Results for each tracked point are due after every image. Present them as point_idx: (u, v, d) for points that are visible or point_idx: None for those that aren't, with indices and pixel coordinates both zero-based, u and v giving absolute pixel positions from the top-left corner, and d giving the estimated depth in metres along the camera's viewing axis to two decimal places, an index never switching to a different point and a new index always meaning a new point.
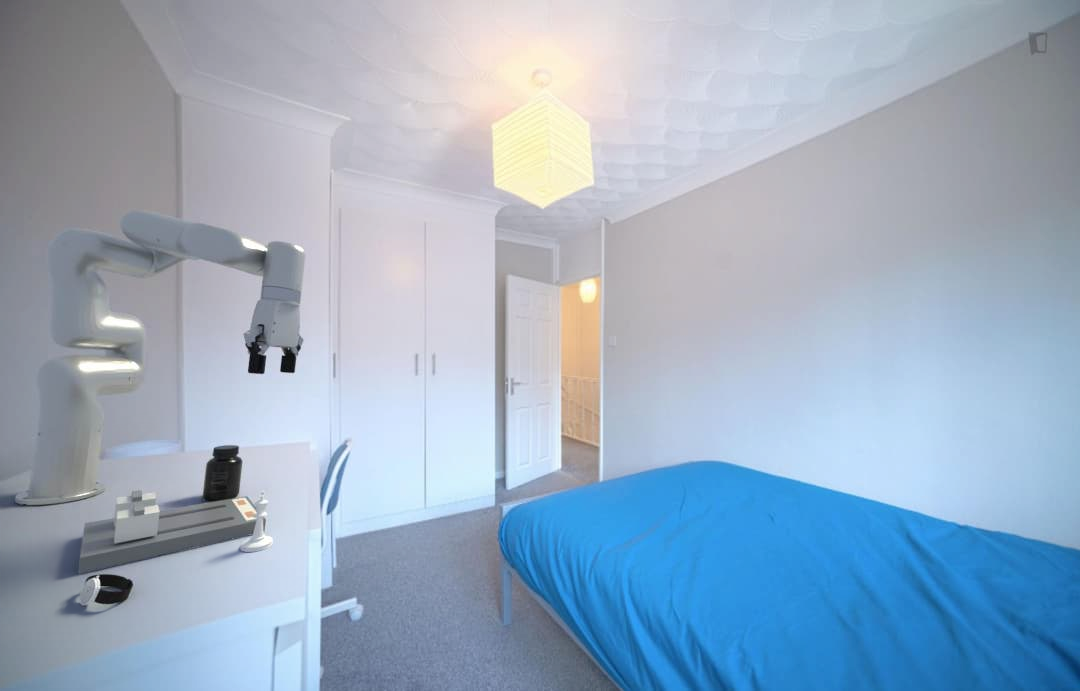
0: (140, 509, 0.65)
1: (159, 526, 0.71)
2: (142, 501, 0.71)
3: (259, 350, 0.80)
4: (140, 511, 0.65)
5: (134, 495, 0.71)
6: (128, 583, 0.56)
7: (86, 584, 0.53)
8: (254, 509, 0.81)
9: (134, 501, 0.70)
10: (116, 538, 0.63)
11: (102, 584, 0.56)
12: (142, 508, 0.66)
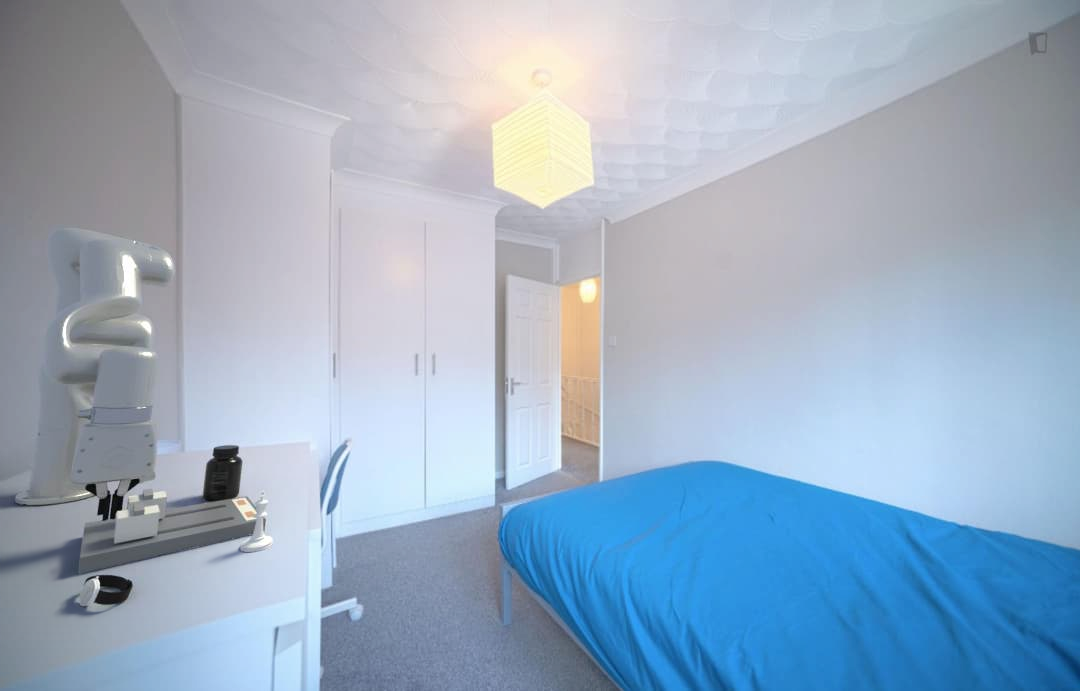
0: (140, 509, 0.65)
1: (159, 526, 0.71)
2: (153, 499, 0.72)
3: None
4: (140, 511, 0.65)
5: (145, 493, 0.72)
6: (128, 584, 0.56)
7: (86, 585, 0.53)
8: (254, 509, 0.81)
9: (146, 499, 0.71)
10: (116, 538, 0.63)
11: (102, 585, 0.56)
12: (142, 508, 0.66)
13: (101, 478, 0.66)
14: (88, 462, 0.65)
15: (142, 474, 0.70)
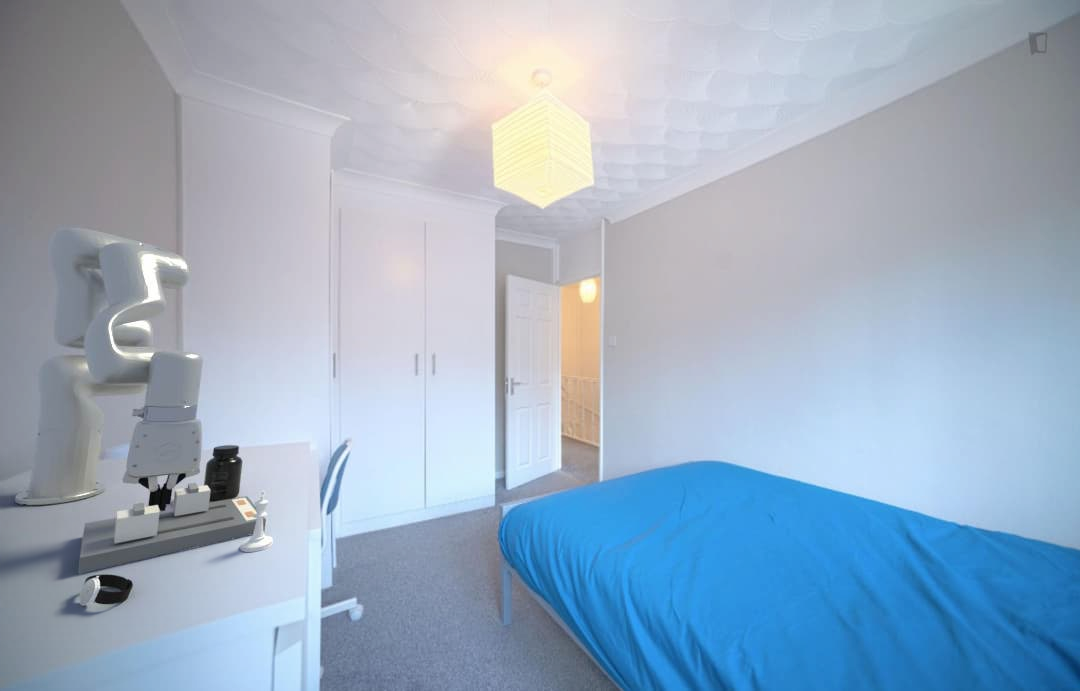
0: (140, 509, 0.65)
1: (159, 526, 0.71)
2: (198, 493, 0.77)
3: None
4: (140, 511, 0.65)
5: (191, 487, 0.77)
6: (128, 583, 0.56)
7: (86, 584, 0.53)
8: (254, 509, 0.81)
9: (192, 493, 0.76)
10: (116, 538, 0.63)
11: (102, 584, 0.56)
12: (142, 508, 0.66)
13: (153, 472, 0.71)
14: (142, 457, 0.70)
15: (189, 468, 0.75)
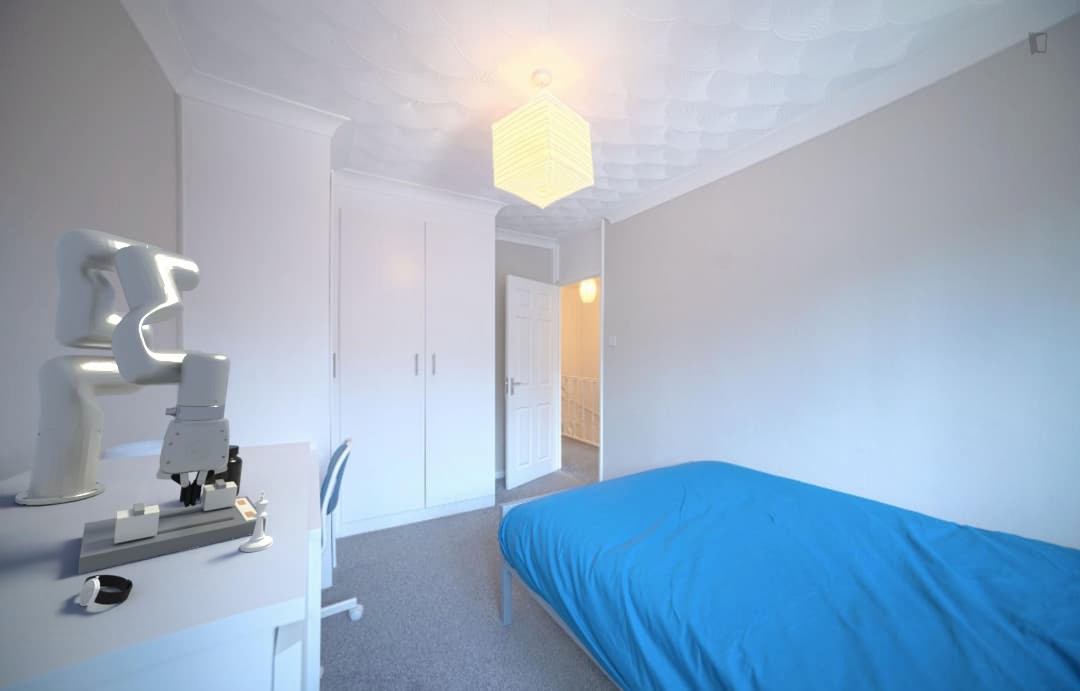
0: (140, 509, 0.65)
1: (159, 526, 0.71)
2: (226, 488, 0.80)
3: None
4: (140, 511, 0.65)
5: (219, 483, 0.80)
6: (128, 583, 0.56)
7: (85, 585, 0.53)
8: (254, 509, 0.81)
9: (220, 488, 0.79)
10: (116, 538, 0.63)
11: (102, 585, 0.56)
12: (142, 508, 0.66)
13: (185, 469, 0.74)
14: (175, 454, 0.73)
15: (218, 465, 0.78)
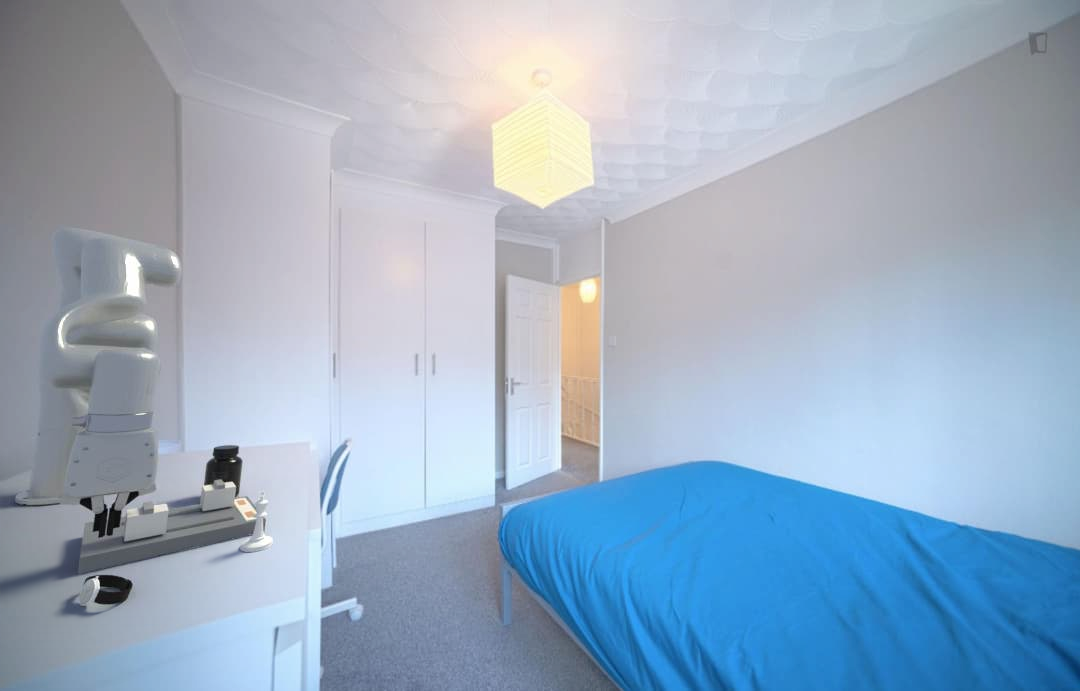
0: (149, 508, 0.66)
1: None
2: (225, 489, 0.80)
3: None
4: (149, 509, 0.66)
5: (218, 483, 0.80)
6: (127, 583, 0.56)
7: (85, 585, 0.53)
8: (254, 509, 0.81)
9: (219, 489, 0.79)
10: (126, 536, 0.64)
11: (101, 585, 0.56)
12: (151, 507, 0.67)
13: (97, 492, 0.61)
14: (83, 474, 0.60)
15: (141, 486, 0.65)
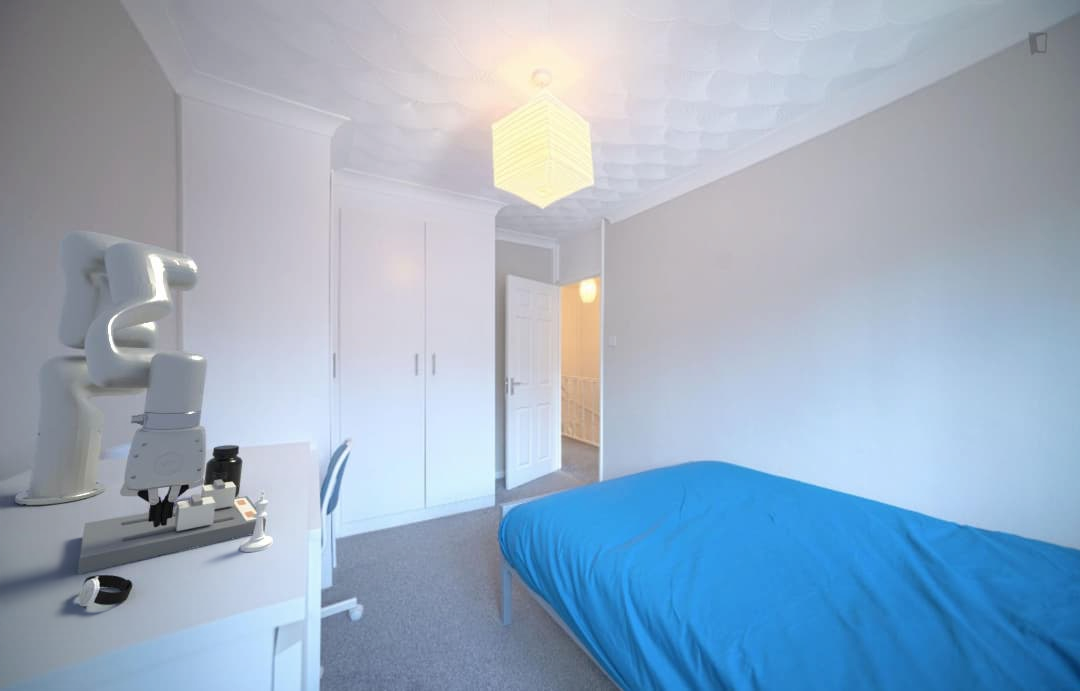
0: (199, 500, 0.71)
1: (159, 526, 0.71)
2: (225, 489, 0.80)
3: None
4: (199, 501, 0.71)
5: (218, 483, 0.80)
6: (127, 584, 0.56)
7: (85, 585, 0.53)
8: (254, 509, 0.81)
9: (219, 489, 0.79)
10: (178, 526, 0.69)
11: (101, 585, 0.56)
12: (200, 499, 0.71)
13: (153, 484, 0.66)
14: (141, 468, 0.65)
15: (192, 479, 0.69)
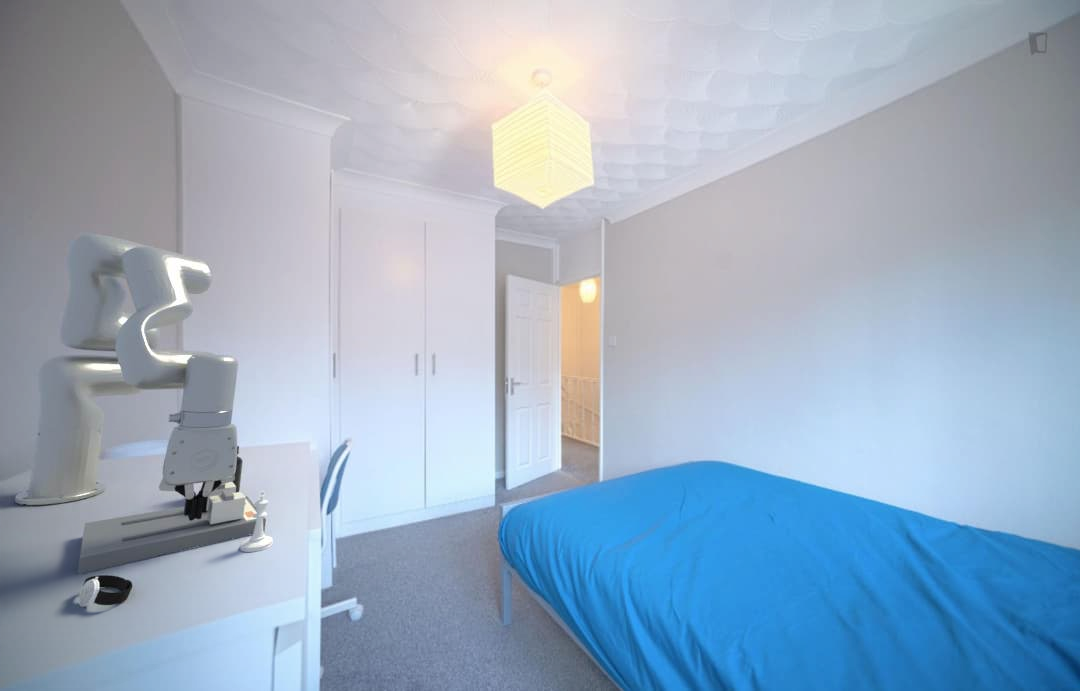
0: (230, 495, 0.74)
1: (159, 526, 0.71)
2: (225, 489, 0.80)
3: None
4: (230, 496, 0.74)
5: None
6: (127, 584, 0.56)
7: (85, 585, 0.53)
8: (254, 509, 0.81)
9: (219, 489, 0.79)
10: (212, 520, 0.72)
11: (101, 585, 0.56)
12: (231, 494, 0.75)
13: (190, 480, 0.69)
14: (179, 464, 0.68)
15: (225, 475, 0.73)
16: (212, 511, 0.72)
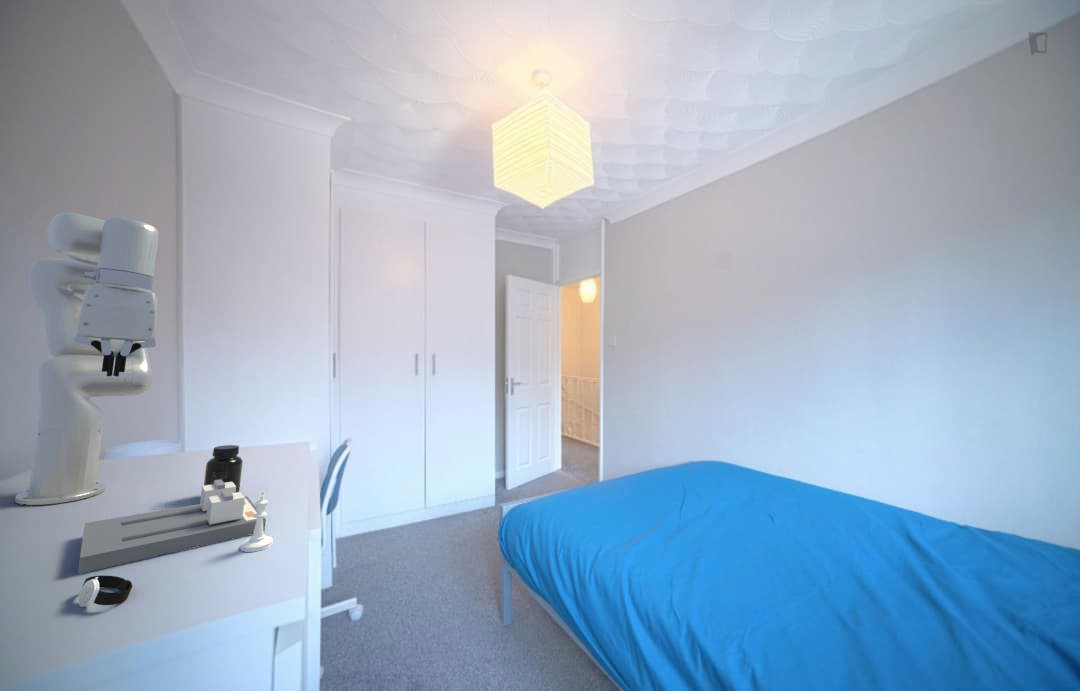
0: (229, 495, 0.74)
1: (159, 526, 0.71)
2: (225, 489, 0.80)
3: None
4: (230, 496, 0.74)
5: (218, 483, 0.80)
6: (127, 584, 0.56)
7: (85, 585, 0.53)
8: (254, 509, 0.81)
9: (219, 489, 0.79)
10: (211, 520, 0.72)
11: (101, 586, 0.56)
12: (230, 494, 0.75)
13: (105, 334, 0.72)
14: (94, 317, 0.71)
15: (143, 337, 0.75)
16: (211, 511, 0.72)
